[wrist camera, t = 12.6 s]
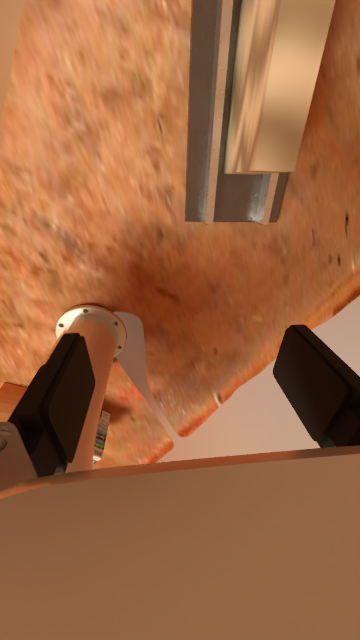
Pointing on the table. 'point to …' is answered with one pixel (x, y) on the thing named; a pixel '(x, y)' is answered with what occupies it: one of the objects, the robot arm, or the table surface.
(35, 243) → the table surface
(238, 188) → the door track
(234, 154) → the door panel
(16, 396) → the arch
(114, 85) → the table surface
